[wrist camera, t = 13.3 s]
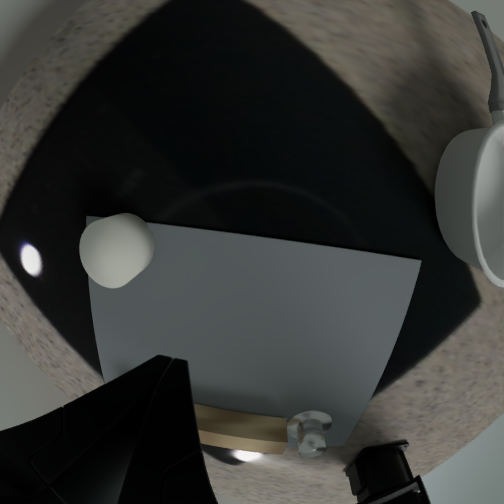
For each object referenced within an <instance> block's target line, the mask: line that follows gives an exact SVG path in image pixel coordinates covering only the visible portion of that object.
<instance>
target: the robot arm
mask: <svg viewBox="0 0 504 504" xmlns="http://www.w3.org/2000/svg"><path fill="white" fill-rule="evenodd" d="M408 446H409V443H408V442H403V443H398V444H391V445H385V446H377V447H369V448H365V449H363V450H362V451H361V453H360V454H359V456H358V457H357V458H356V460H355V461H354V462H353V464H352V465H351V467H350V468H349V469H348V470H347V472H346V473H345V474H346V476H347V477H349V481H350V486H351V490H352V494H353V495H354V496H357V501H358V503H357V504H431V502H430V499H429V496H428V494H427V491H426V489H425V486H424V484H423V481H422V479H421V477H420V475H418V476H416V477H415V478H414V477H413V475H412V472H411V470H410V467H409V465H408V462H407V460H406V457H405V455H404V451H405V450H406V449H407V448H408ZM419 490H420V492H419V493H418V491H419ZM0 504H218V502H217V500H216V497H215V495H214V492H213V489H212V487H211V484H210V481H209V477H208V473H207V470H206V466H205V461H204V456H203V453H202V447H201V442H200V436H199V431H198V425H197V419H196V413H195V407H194V400H193V394H192V387H191V379H190V372H189V364H188V361H187V360H185V359H180V358H172V357H170V356H165V355H161V354H158V355H156V356H154V357H152V358H151V359H149V360H147V361H145V362H144V363H142V364H140V365H138V366H137V367H135V368H133V369H131V370H129V371H128V372H126V373H124V374H122V375H120V376H119V377H117V378H115V379H113V380H111V381H109V382H107V383H106V384H104V385H102V386H100V387H98V388H96V389H94V390H93V391H91V392H89V393H87V394H85V395H83V396H81V397H79V398H77V399H75V400H73V401H71V402H69V403H68V404H66V405H64V406H63V407H60V408H57V409H56V410H53V411H51V412H49V413H47V414H45V415H43V416H41V417H38V418H36V419H34V420H31V421H28V422H26V423H23V424H20V425H18V426H14V427H11V428H8V429H5V430H2V431H0Z"/></svg>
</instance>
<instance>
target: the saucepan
mask: <svg viewBox="0 0 504 504" xmlns="http://www.w3.org/2000/svg"><path fill="white" fill-rule="evenodd" d="M471 14H472V16H473V19H474V21H475V24H476V26H477V29H478V32H479V34H480V37H481V40H482V43H483V46H484V49H485V52H486V55H487V58H488V62H489V65H490V69H491V73H492V79H491V90H490V95H489V100H488V105H489V110H490V113H491V115H492V120H493V126H492V127H487V128H480V129H473V130H468V131H465V132H462V133H460V134H458V135H457V136H456V137H454V138H453V139H452V140H451V142H450V143H449V144H448V145H447V147H446V149H445V151H444V153H443V155H442V157H441V160H440V163H439V166H438V170H437V176H436V182H435V206H436V215H437V220H438V224H439V228H440V231H441V233H442V236H443V238H444V241H445V242H446V244H447V245H448V247H449V249H450V250H451V251H452V252H453V253H454V254H455V255H456V256H457V257H458V258H460V259H461V260H463V261H465V262H466V263H468V264H470V265H472V266H474V267H476V268H478V269H480V270H482V271H484V273H485V274H486V276H487V277H488V278H489V279H490V281H491V282H493V283H494V284H496V285H497V286H499V287H504V67H503V64H502V61H501V58H500V55H499V52H498V49H497V46H496V43H495V40H494V38H493V35H492V33H491V30H490V28H489V25H488V23H487V21H486V18H485V16H484V15H483V14H481V13H479V12H476V11H473V12H471Z"/></svg>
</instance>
